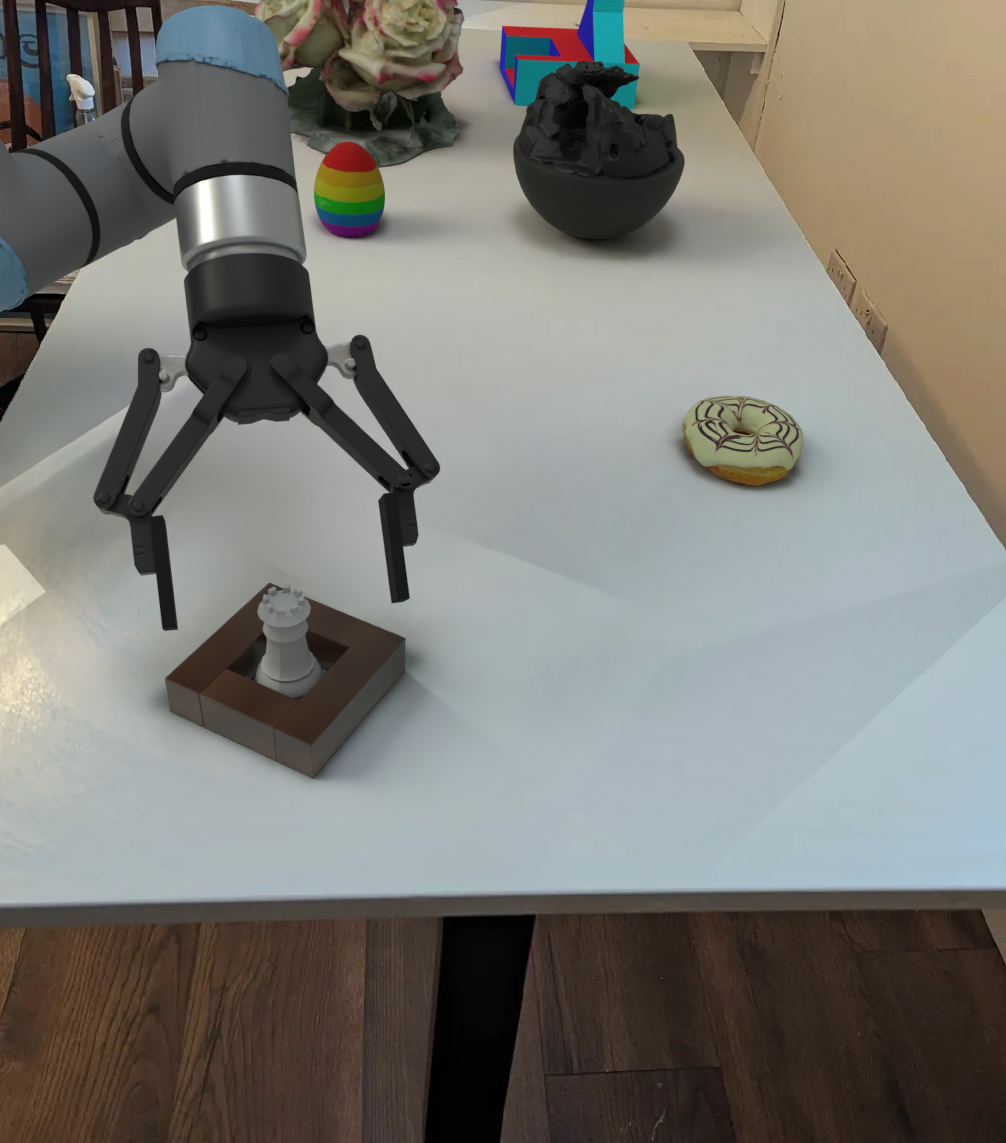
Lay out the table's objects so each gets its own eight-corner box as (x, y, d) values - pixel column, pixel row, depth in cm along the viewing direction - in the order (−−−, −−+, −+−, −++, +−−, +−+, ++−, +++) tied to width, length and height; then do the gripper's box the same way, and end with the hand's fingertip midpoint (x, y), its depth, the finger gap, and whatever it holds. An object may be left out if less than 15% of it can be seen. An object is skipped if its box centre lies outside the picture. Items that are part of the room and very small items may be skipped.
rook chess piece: (312, 719, 72) (307, 627, 67) (245, 707, 73) (235, 614, 68) (332, 672, 76) (329, 581, 71) (268, 660, 76) (261, 569, 71)
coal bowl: (583, 189, 148) (601, 36, 136) (704, 240, 137) (734, 79, 125) (473, 224, 136) (481, 60, 124) (595, 283, 126) (617, 110, 114)
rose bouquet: (237, 124, 158) (217, -124, 139) (401, 93, 174) (404, -134, 155) (346, 182, 144) (341, -85, 125) (513, 142, 160) (531, -100, 141)
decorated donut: (688, 487, 96) (695, 450, 93) (672, 421, 104) (678, 385, 102) (808, 493, 96) (819, 456, 94) (782, 426, 105) (792, 391, 102)
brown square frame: (169, 711, 72) (163, 678, 70) (271, 614, 80) (269, 581, 78) (313, 778, 69) (311, 745, 67) (405, 670, 76) (405, 637, 75)
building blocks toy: (602, 62, 195) (616, -57, 183) (633, 108, 176) (651, -21, 164) (495, 58, 192) (502, -63, 181) (514, 105, 173) (524, -27, 162)
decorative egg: (325, 245, 129) (322, 157, 122) (307, 217, 134) (304, 132, 128) (393, 239, 131) (394, 153, 125) (373, 212, 137) (373, 128, 131)
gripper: (435, 281, 75) (477, 595, 74) (38, 302, 69) (76, 644, 68) (456, 238, 68) (504, 584, 67) (16, 256, 62) (57, 638, 60)
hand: (288, 615), depth 67 cm, fingers open, 13 cm apart
